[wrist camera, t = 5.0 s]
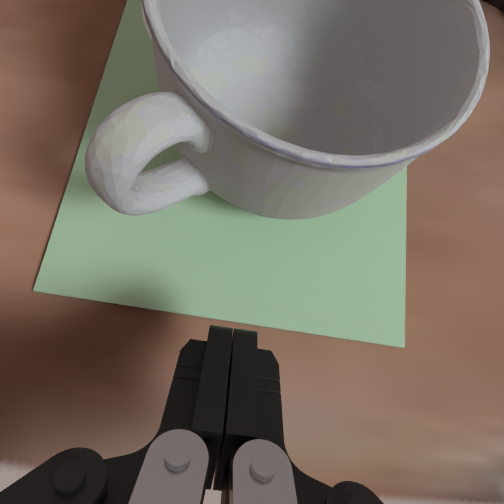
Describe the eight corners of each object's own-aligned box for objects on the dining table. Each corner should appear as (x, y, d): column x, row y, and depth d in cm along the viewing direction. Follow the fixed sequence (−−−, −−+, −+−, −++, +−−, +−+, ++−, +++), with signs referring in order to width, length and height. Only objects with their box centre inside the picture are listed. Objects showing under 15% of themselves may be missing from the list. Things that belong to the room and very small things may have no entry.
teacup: (306, 30, 20) (366, -168, 12) (422, 184, 18) (577, 62, 11) (67, 127, 17) (-53, -63, 9) (178, 328, 15) (145, 301, 7)
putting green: (408, -66, 24) (430, -113, 21) (402, 347, 16) (436, 346, 14) (168, -124, 23) (164, -181, 20) (35, 291, 15) (1, 279, 12)
